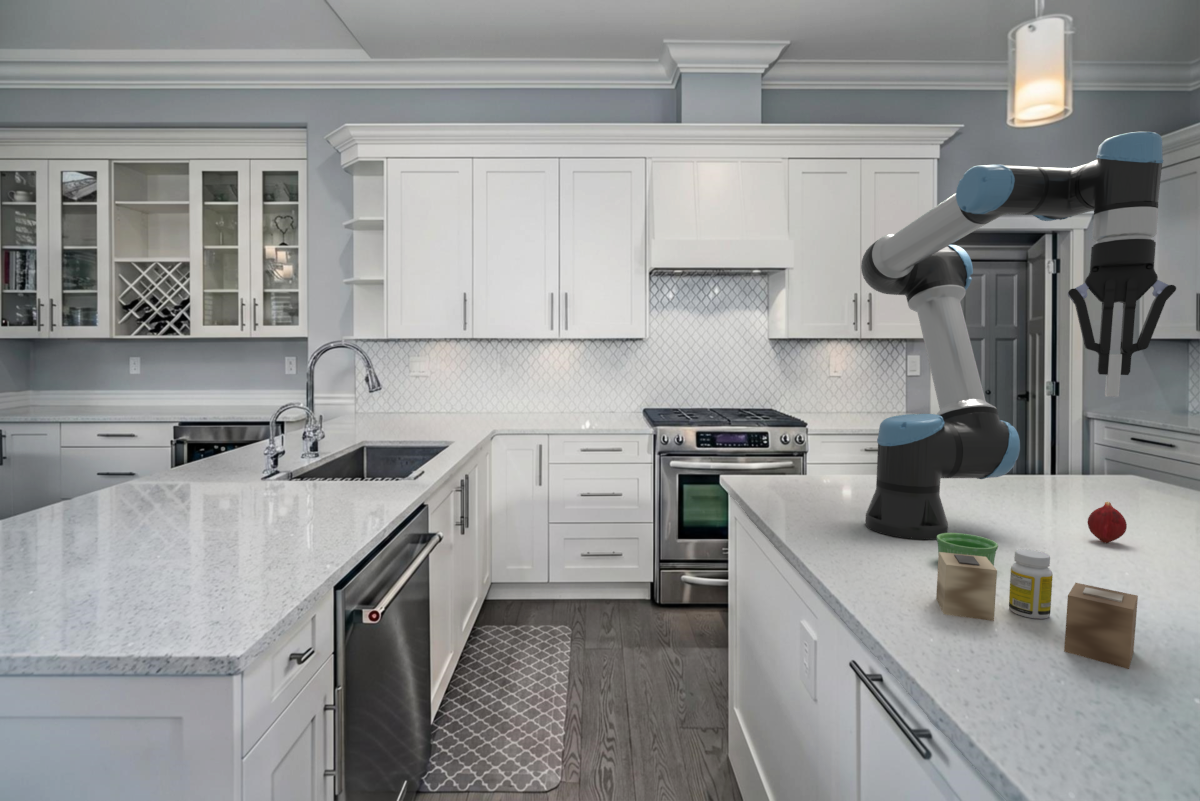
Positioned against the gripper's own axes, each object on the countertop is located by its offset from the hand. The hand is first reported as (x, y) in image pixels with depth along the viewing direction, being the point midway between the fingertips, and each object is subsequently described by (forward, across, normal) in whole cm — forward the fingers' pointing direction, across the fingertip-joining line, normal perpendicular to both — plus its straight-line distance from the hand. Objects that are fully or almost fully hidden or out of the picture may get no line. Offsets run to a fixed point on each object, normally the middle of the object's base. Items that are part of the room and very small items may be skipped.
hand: (1111, 396), depth 97 cm
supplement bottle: (+30, +9, +21) cm, 37 cm away
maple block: (+30, +16, +25) cm, 42 cm away
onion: (+30, -3, -28) cm, 41 cm away
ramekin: (+30, +18, +3) cm, 35 cm away
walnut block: (+30, +2, +30) cm, 42 cm away
